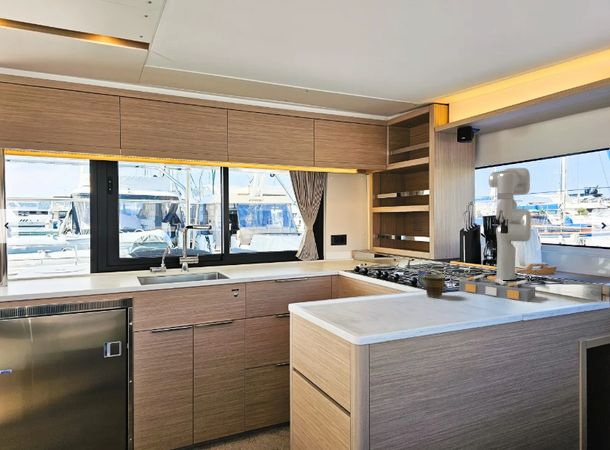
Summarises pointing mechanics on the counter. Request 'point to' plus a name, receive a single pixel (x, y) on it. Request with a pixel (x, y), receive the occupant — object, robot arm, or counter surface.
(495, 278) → the switch
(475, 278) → the switch
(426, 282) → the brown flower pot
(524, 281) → the switch
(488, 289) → the switch box
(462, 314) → the counter surface
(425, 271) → the flask
